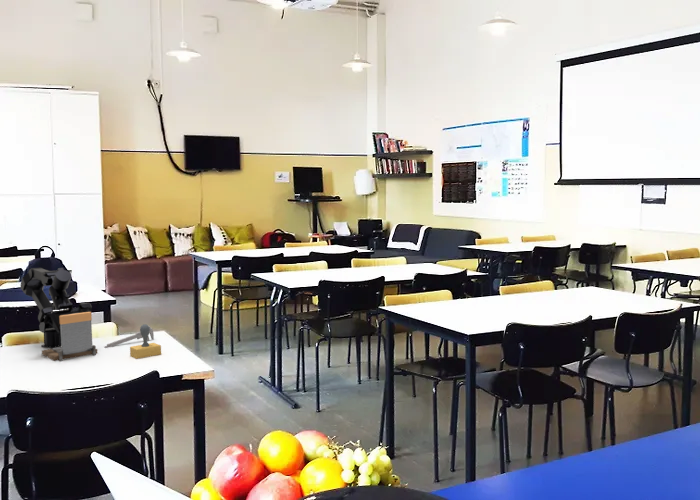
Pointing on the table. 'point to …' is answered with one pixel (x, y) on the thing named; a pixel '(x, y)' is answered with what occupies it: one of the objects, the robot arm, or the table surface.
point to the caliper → (130, 338)
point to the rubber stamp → (145, 346)
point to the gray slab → (76, 333)
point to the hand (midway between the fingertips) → (71, 330)
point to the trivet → (57, 355)
